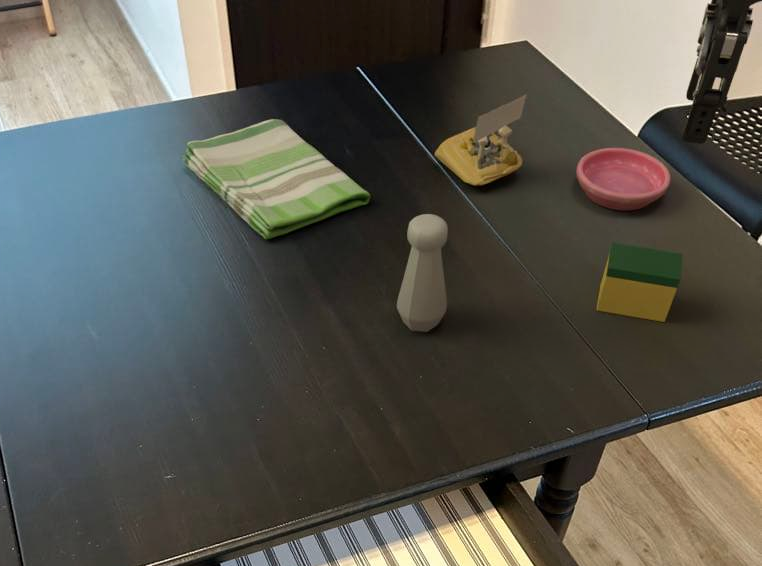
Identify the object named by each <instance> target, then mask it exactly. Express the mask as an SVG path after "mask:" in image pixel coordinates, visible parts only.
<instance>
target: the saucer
mask: <svg viewBox="0 0 762 566" xmlns="http://www.w3.org/2000/svg"><path fill="white" fill-rule="evenodd" d="M575 172H576V179H577V181H578V183H579V185H580V187H581V188H582V190H583V191H584V194H585V195H586V196H587V198H589V199H590V200H591V201H592V202H594V203H595V204H597V205H599V206H601V207H603V208H607V209H610V210H615V211H635V210H639V209H642V208H645V207H647V206H649V205H650V204H651V203H654V202H655V201H657V200H659V198H661V197H662V196H663V195H665V193H666V192H667V191H668V189H669V186H670V184H671V179H672V178H671V174H670V171H669V169H668V168H667V167H666V165H664V163H662V162H661V161H660V160H659V159H657V158H656V157H654V156H652V155H651V154H648V153H645V152H643V151H641V150H636V149H632V148H631V149H630V148H625V147H606V148H600V149H596V150H592V151H590V152H588V153H587V154H585V155H584V156H582V157H581V158H580V160H579V161H578V162H577V167H576V171H575Z"/></svg>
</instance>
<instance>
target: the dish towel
mask: <svg viewBox="0 0 762 566" xmlns="http://www.w3.org/2000/svg"><path fill="white" fill-rule="evenodd" d="M182 158H183V163H185V165H186V166H187V167H188V168H189V169H190V170H191V171H192V172H193V173H194V174H195V175H196V176H197V177H198V178H199V179H200V180H201V181H203V182H204V183H205V184H206V185H207V186H208V187H209V188H210V189H211V190H212V191H213V192H214V193H215V194H216V195H217V196H218V197H219V198H220V199H222V200H223V201H224V202H225V203H227V205H229V207H230V208H231V209H232V210H233V211H234V212H235V214H237V216H239V217H240V218H241V219H242V220H243V221H244V222H246V223H247V224H248V226H250V227H251V228H252V229H253V230H254V231H255V232H256V233H258V234H259V235H260V236H261V237H262V238H263V239H264V240H271V239H275V238H276V237H279V236H283V235H286V234H289V233H291V232H294V231H296V230H299V229H301V228H304V227H306V226H310V225H312V224H314V223H318V222H320V221H324V220H325V219H328V218H330V217H332V216H335V215H337V214H341V213H342V212H347V211H350V210H353V209H355V208H358V207H361V206H366V205H368V204H369V202H370V201H371V194H370V192H369V191H367V190H366V189H364V188H363V187H362V186H360V185H359V184H358V183H356V181H354V180H353V179H352V178H351V177H349V176H348V175H347V173H345V172H344V171H343V170H341V169H340V168H339V167H337V166H335V165H334V163H332V162H331V161H330V160H328V159H327V158H326V157H325V156H324V155H323V154H322V153H321V152H320V151H318V150H317V149H316V148H315V147H313V146H312V145H311V144H309V143H308V142H306V141H305V140H304V139H303V138H302V137H300V135H298V134H297V133H296V132H295V131H294V130H293V129H292V128H291V127H290V125H288V123H286V122H285V121H284V120H282V119H277V118H276V119H274V118H271V119H267V120H264V121H261V122H258V123H255V124H251V125H249V126H247V127H244V128H241V129H238V130H235V131H232V132H229V133H224V134H220V135H216V136H214V137H209V138H207V139H204V140H192V141H187V149H186V151H185V154H183V155H182Z"/></svg>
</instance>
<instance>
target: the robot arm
mask: <svg viewBox="0 0 762 566" xmlns="http://www.w3.org/2000/svg"><path fill="white" fill-rule="evenodd" d="M760 2H762V0H711V1H710V3H707V4H706V7H705V9H704V14H703V17H702V23H701V27H700V30H699V34H698V37H697V44H698V46H697V47H696V60H695V63H694V64H695V65H694V67H693V71H692V74H691V77H690V80H689V83H688V87H687V90H686V95H685V97H686V99H687V100H688V101H691V102H692V104H691V107H690V110H689V113H688V116H687V120H686V122H685V126H684V128H683V132H682V141H684V142H685V143H692V144H698V145H702V144H705V142H706V141H707V140H708V137H709V134H710V131H711V128H712V125H713V122H714V120H715V117H716V113H717V112H718V108H724V105H725V104H726V103H727V102H728V94H729V92H730V88H731V85H732V83H733V80H734V77H735V74H736V73H737V71H738V67H739V63H740V59H741V56H742V53H743V50H744V49H745V45H747V43H748V39H749V37H750V34H751V31H752V27H753V23H754V19H751V18H752V14H753V11H754V8H753V7H751V6H753V5H754V4H757V3H760ZM716 78H717V79H720V83H719V86H718V89H717V88H713V87H714V85H715V81H716Z"/></svg>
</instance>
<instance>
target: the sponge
mask: <svg viewBox="0 0 762 566" xmlns="http://www.w3.org/2000/svg"><path fill="white" fill-rule="evenodd" d="M682 266H683V253H679V252H674V251H673V252H672V251H666V250H661V249H655V248H648V247H641V246H635V245H629V244H624V243H617V242H612V244H611V247H610V251H609V253H608V258H607V261H606V264H605V267H604V271H603V275H602V279H601V282H600V286H599V291H598V298H597V303H596V309H595V310H596V312H597V311H598V312H603V313H608V314H609V313H610V314H615V315H620V316H625V317H632V318H637V319H645V320H650V321H655V322H662V323H665V322H666V320H667V317H668V315H669V312H670V309H671V306H672V303H673V301H674V298H675V295H676V293H677V290H678V287H679V285H680V283H681V280H682V279H681V278H682Z"/></svg>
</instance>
